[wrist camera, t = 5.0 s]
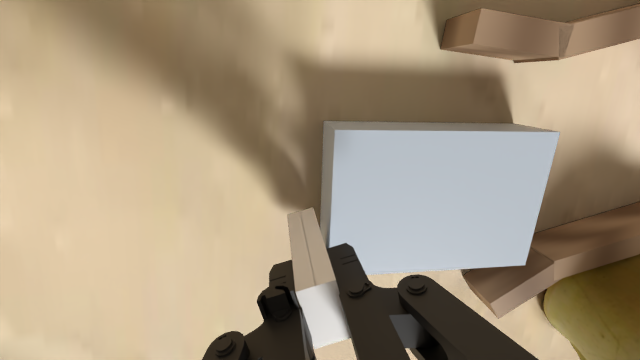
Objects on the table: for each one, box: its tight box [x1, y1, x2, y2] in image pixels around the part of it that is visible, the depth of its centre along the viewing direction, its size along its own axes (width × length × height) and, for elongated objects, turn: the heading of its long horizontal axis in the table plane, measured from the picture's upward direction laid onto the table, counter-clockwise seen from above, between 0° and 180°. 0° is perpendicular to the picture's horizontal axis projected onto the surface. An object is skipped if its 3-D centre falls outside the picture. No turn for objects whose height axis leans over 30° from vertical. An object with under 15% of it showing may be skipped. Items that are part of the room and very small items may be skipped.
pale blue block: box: [320, 121, 560, 275], centre depth 18 cm, size 12×8×4 cm, turn 88°
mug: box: [544, 254, 640, 360], centre depth 22 cm, size 12×10×10 cm
